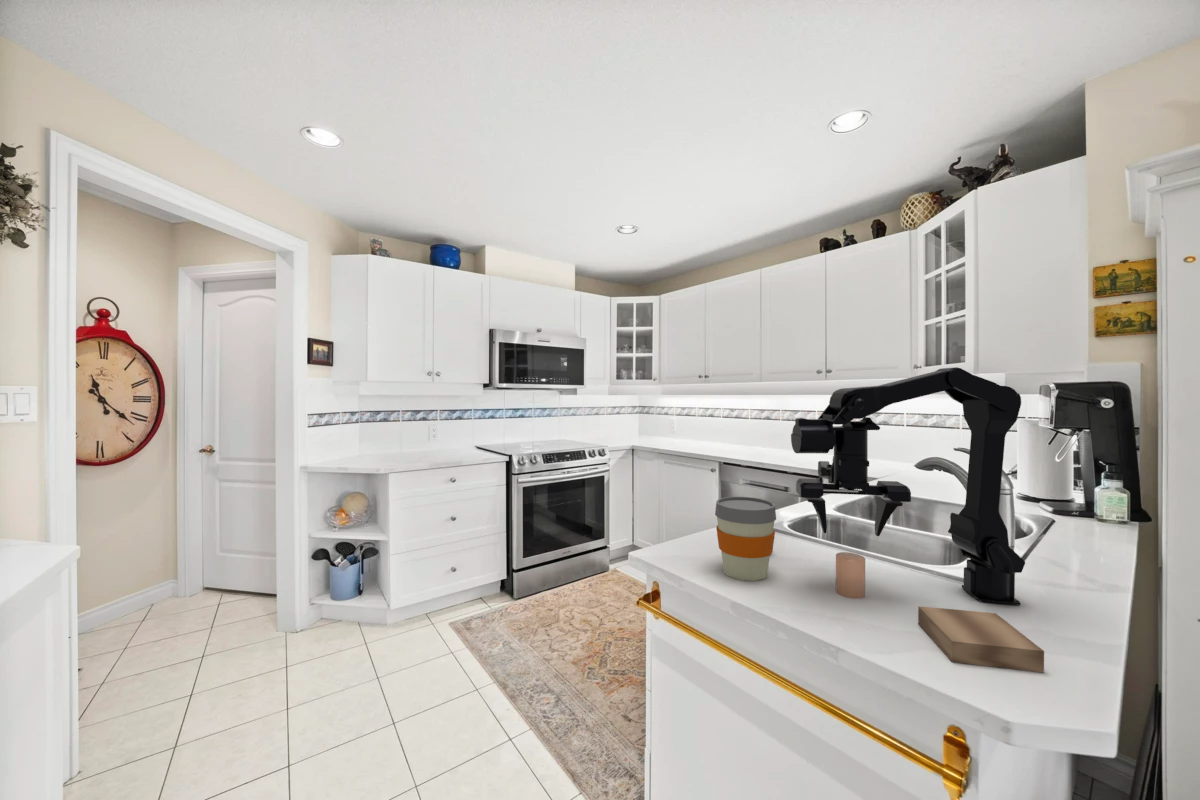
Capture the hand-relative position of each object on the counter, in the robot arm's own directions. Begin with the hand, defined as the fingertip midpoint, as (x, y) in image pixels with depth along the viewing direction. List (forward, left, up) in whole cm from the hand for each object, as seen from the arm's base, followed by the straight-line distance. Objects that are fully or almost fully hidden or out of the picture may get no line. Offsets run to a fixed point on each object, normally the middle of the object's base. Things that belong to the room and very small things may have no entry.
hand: (850, 534), depth 88 cm
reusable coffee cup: (+19, -6, -12) cm, 23 cm away
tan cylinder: (0, 0, -11) cm, 11 cm away
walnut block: (-13, +16, -11) cm, 24 cm away
